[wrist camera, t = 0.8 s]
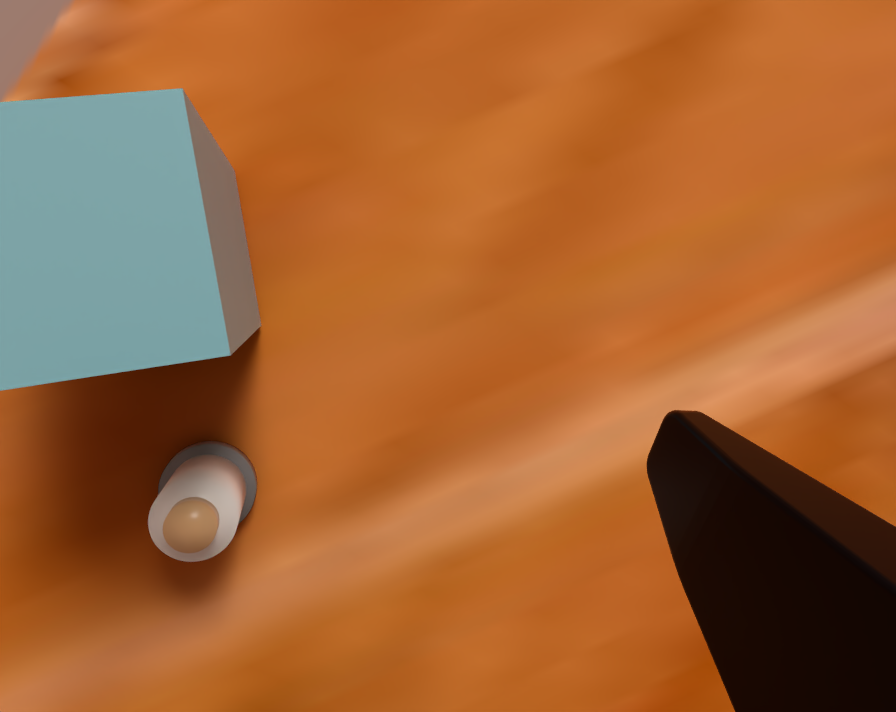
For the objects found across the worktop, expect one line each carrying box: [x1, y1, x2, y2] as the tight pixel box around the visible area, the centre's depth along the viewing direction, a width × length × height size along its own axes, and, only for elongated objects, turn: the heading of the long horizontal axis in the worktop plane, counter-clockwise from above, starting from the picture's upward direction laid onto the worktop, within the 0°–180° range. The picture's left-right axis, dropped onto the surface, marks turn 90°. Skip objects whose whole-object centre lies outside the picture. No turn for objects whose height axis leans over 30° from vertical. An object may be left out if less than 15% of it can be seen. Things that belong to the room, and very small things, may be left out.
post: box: [148, 441, 257, 562], centre depth 20 cm, size 3×3×4 cm
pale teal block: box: [0, 88, 261, 391], centre depth 16 cm, size 5×5×9 cm
